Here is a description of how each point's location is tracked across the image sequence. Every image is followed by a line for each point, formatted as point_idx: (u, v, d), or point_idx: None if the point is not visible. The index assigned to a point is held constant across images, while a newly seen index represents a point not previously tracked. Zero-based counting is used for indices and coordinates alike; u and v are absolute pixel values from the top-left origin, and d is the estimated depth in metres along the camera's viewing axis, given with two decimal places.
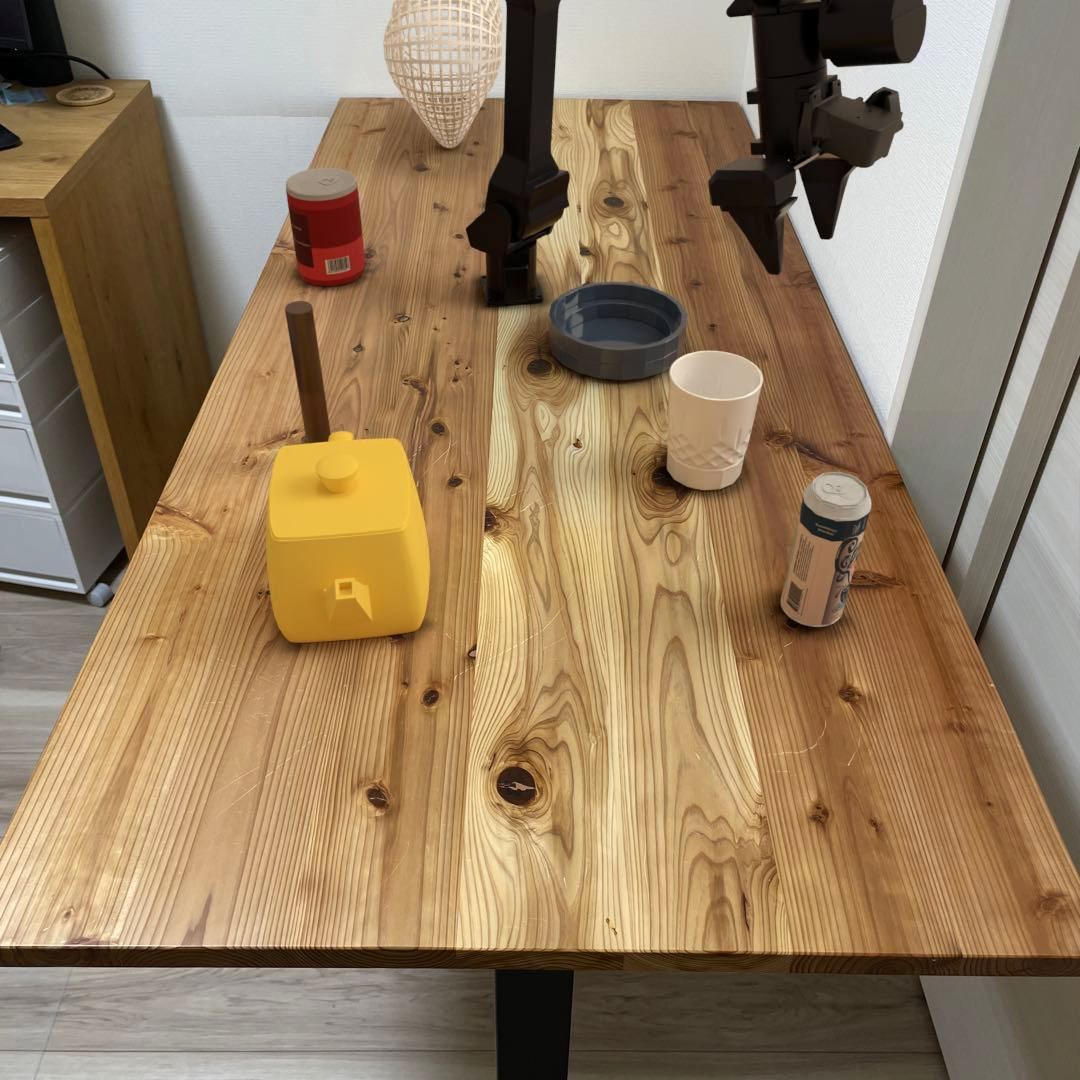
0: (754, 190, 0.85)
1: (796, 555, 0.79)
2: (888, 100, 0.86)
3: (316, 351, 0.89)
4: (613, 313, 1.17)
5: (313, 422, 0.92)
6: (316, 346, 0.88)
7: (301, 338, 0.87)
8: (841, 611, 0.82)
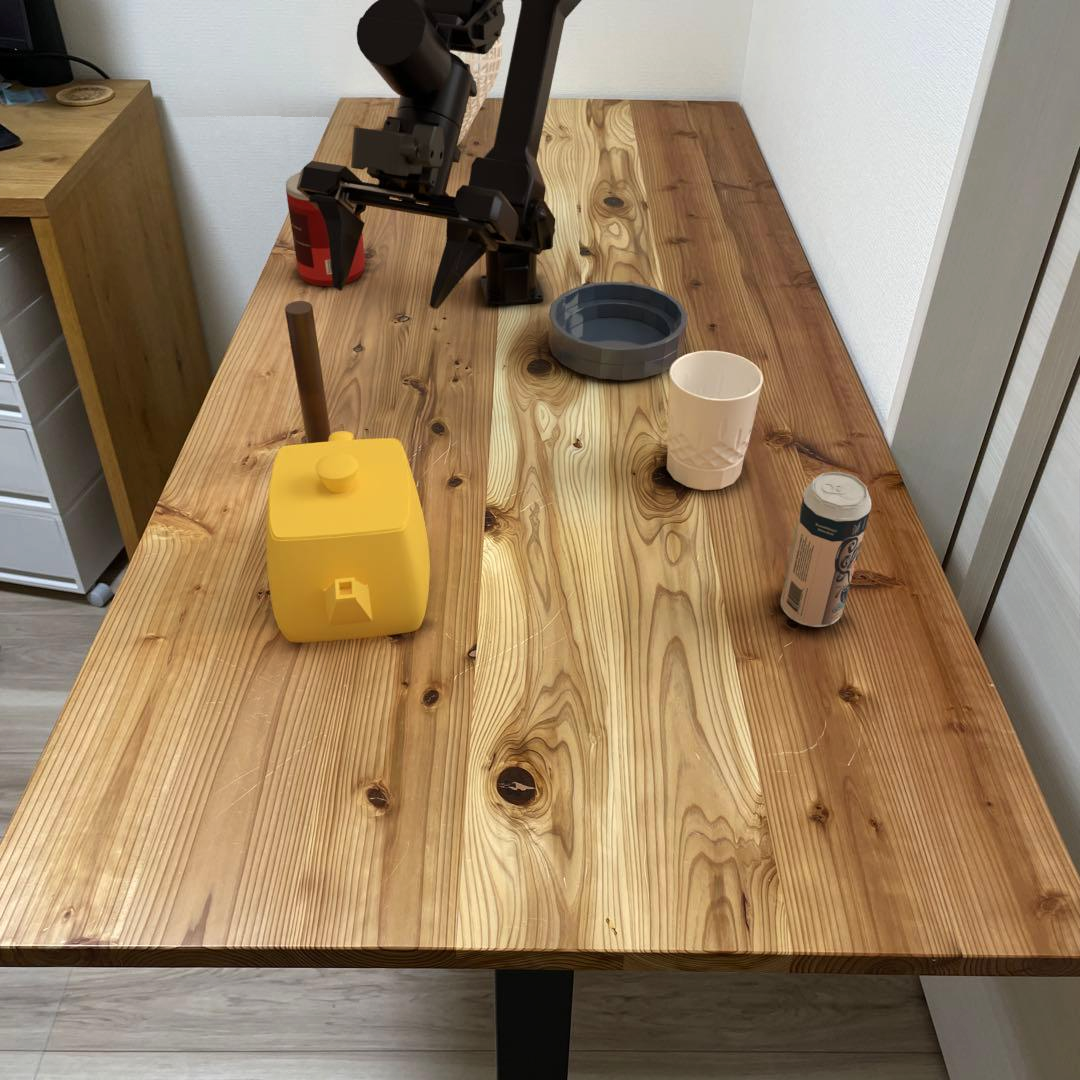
0: None
1: (796, 555, 0.79)
2: (415, 126, 0.85)
3: (316, 351, 0.89)
4: (613, 313, 1.17)
5: (313, 422, 0.92)
6: (316, 346, 0.88)
7: (301, 338, 0.87)
8: (841, 611, 0.82)
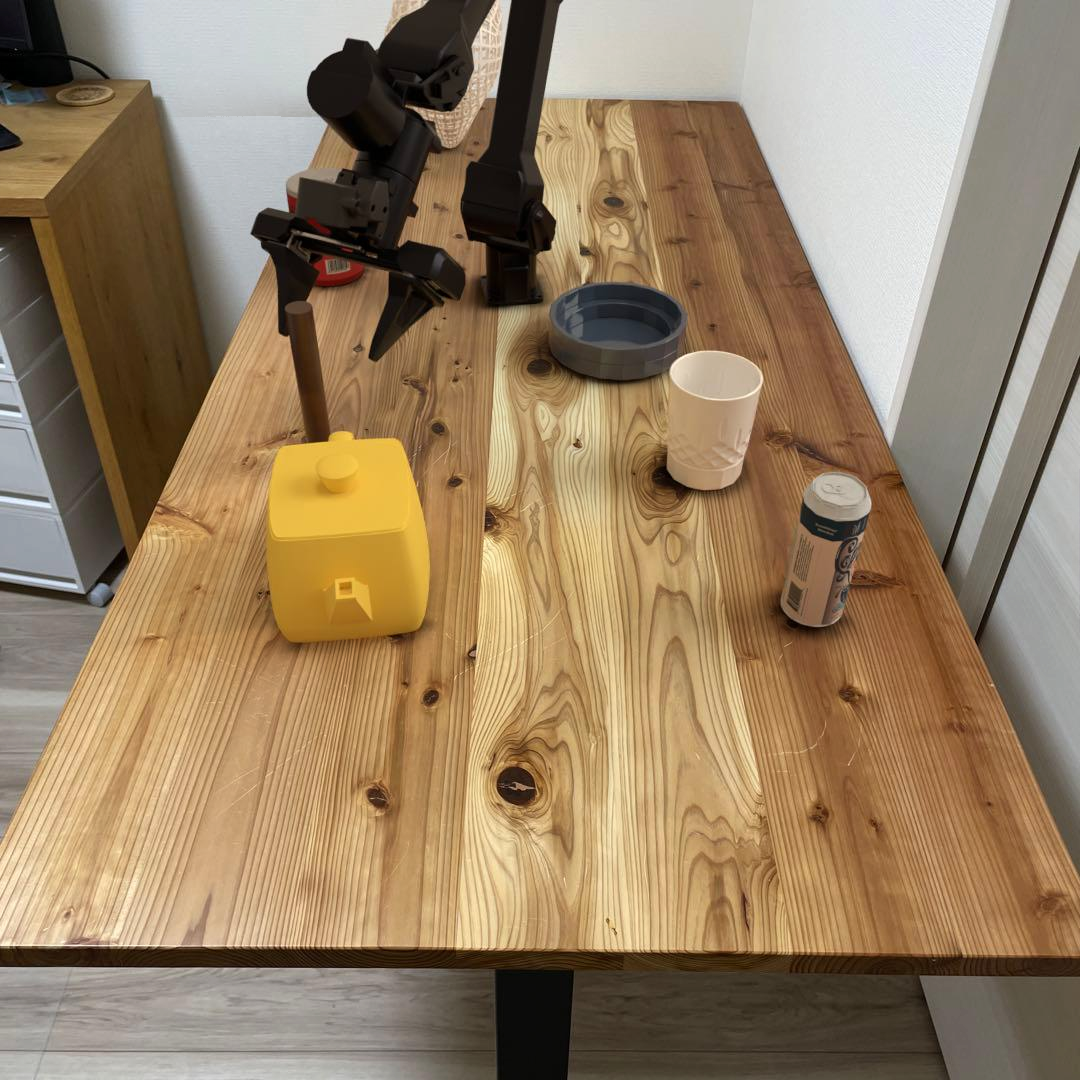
0: None
1: (796, 555, 0.79)
2: (359, 180, 0.85)
3: (316, 351, 0.89)
4: (613, 313, 1.17)
5: (313, 422, 0.92)
6: (316, 346, 0.88)
7: (301, 338, 0.87)
8: (841, 611, 0.82)
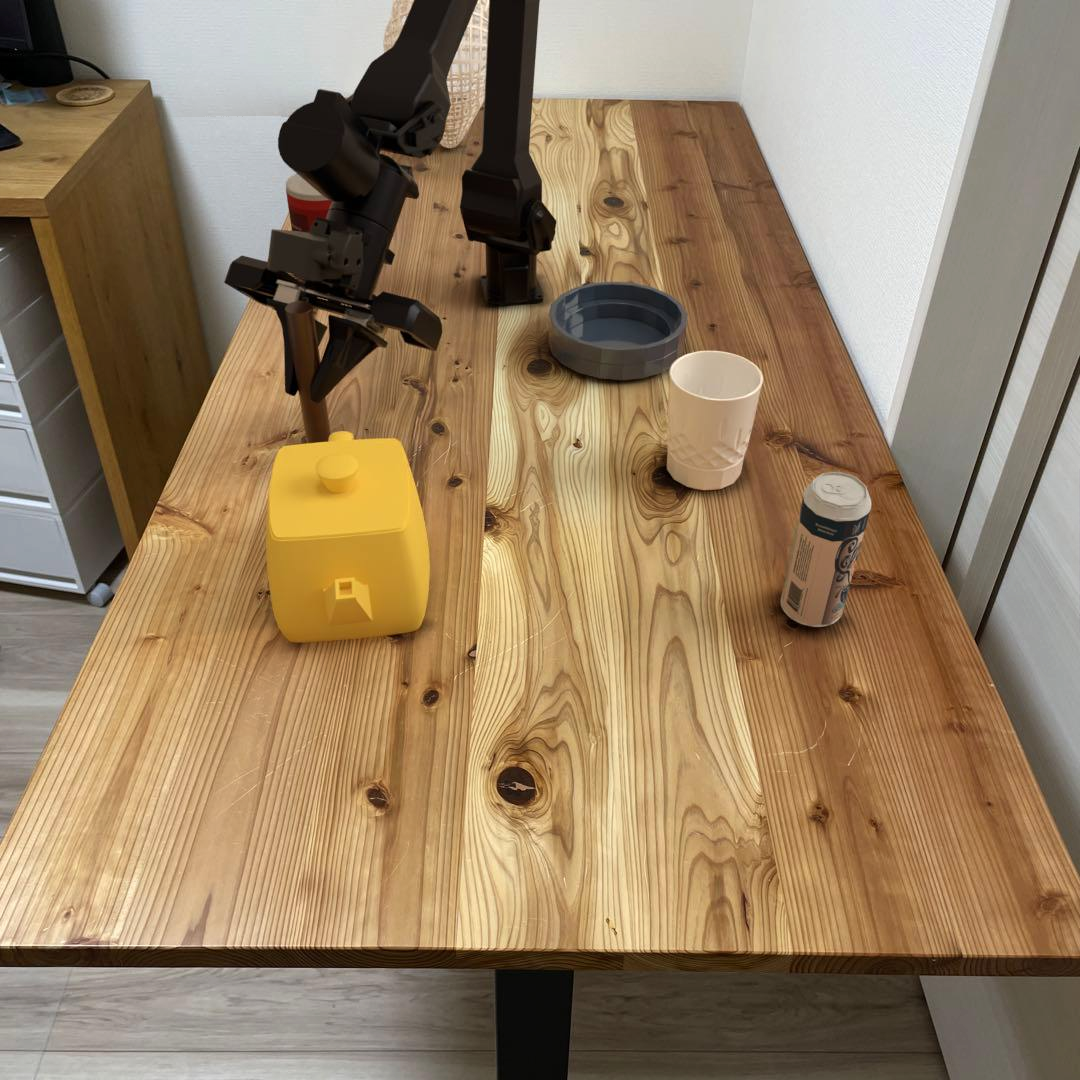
0: None
1: (796, 555, 0.79)
2: (332, 233, 0.83)
3: (316, 351, 0.89)
4: (613, 313, 1.17)
5: (313, 422, 0.92)
6: (316, 346, 0.88)
7: (301, 338, 0.87)
8: (841, 611, 0.82)
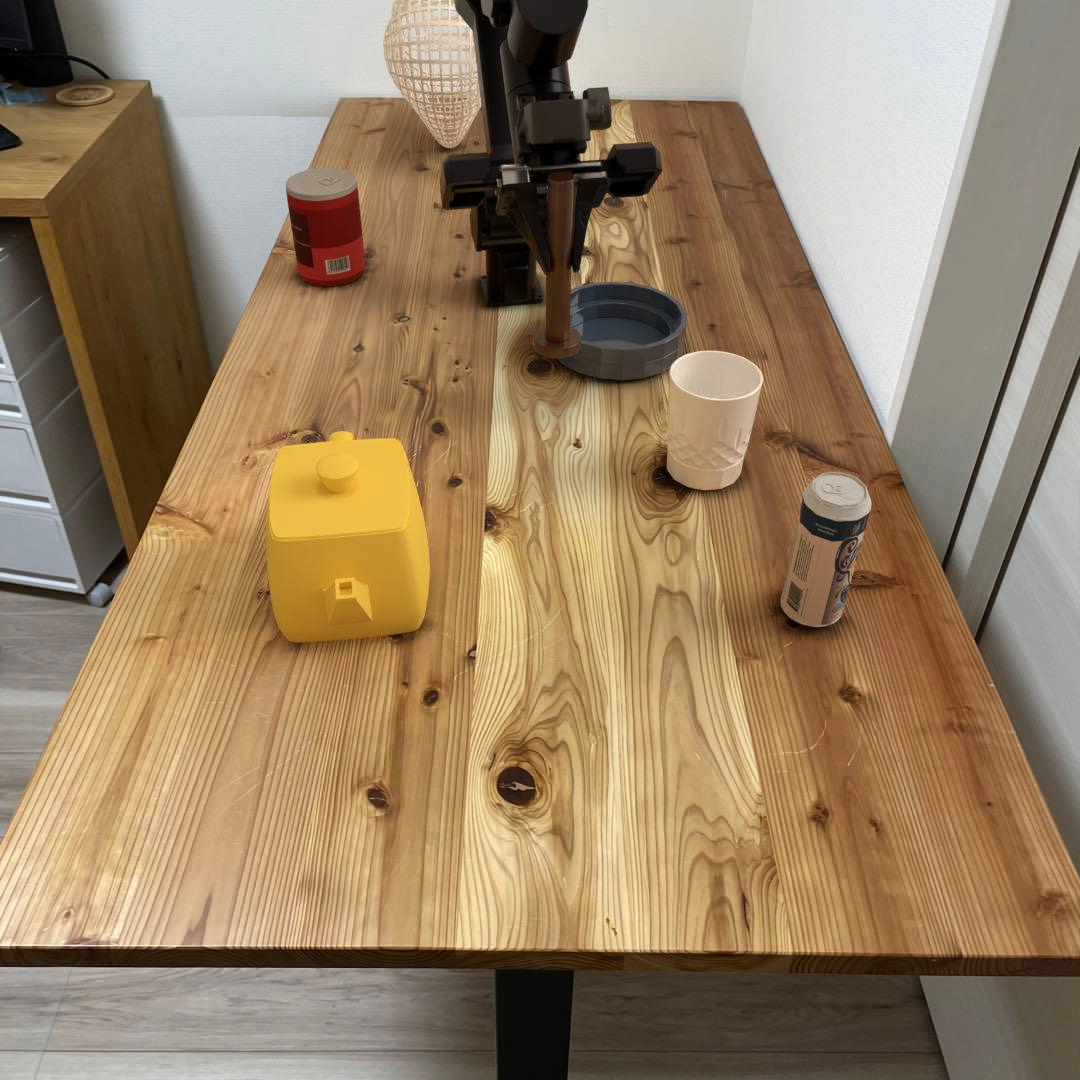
0: (443, 174, 0.90)
1: (796, 555, 0.79)
2: (587, 91, 0.86)
3: None
4: (613, 313, 1.17)
5: (566, 296, 0.94)
6: None
7: (569, 207, 0.89)
8: (841, 611, 0.82)
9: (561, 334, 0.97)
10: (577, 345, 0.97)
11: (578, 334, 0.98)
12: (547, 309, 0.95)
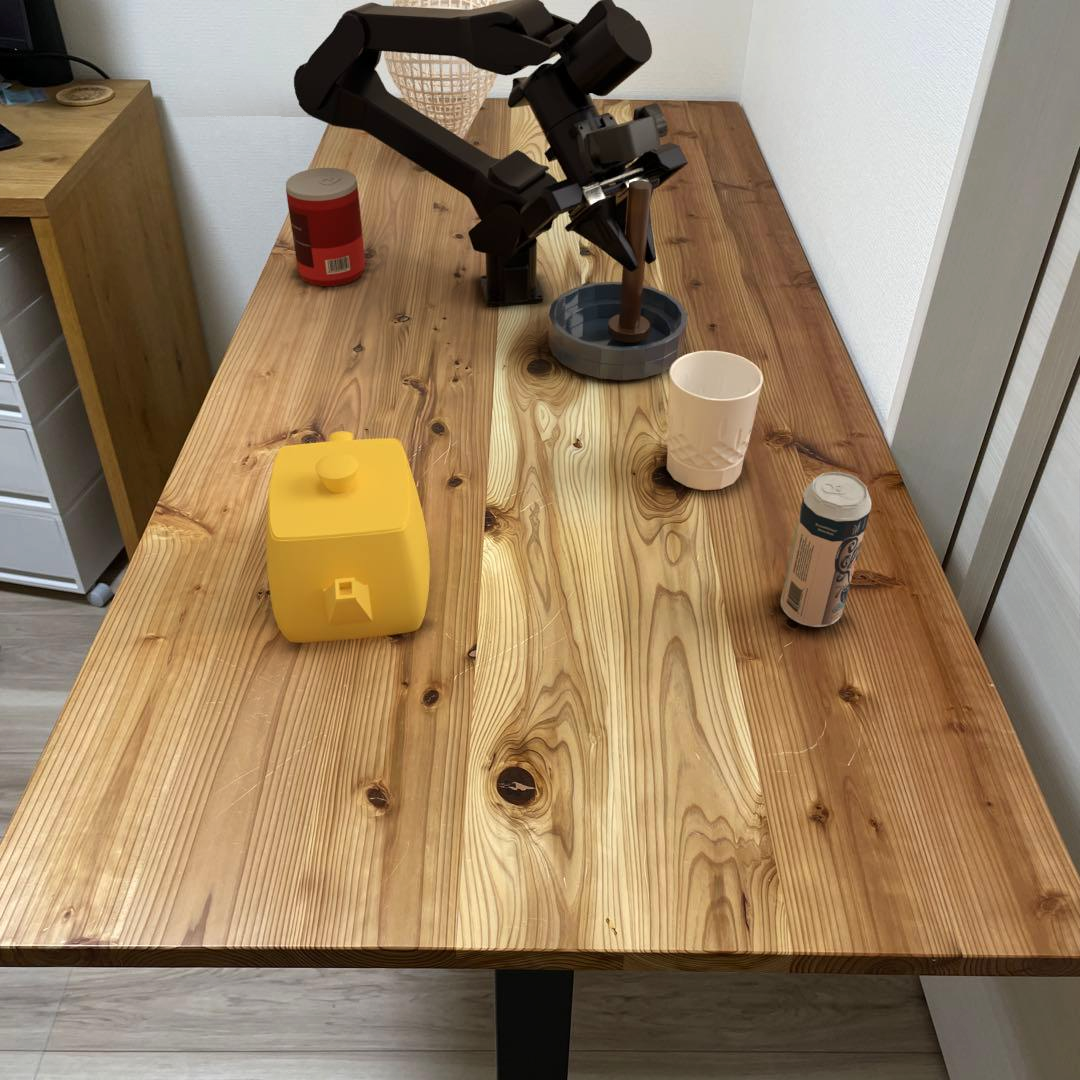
0: (542, 205, 1.00)
1: (796, 555, 0.79)
2: (645, 109, 1.01)
3: None
4: (613, 313, 1.17)
5: (642, 286, 1.09)
6: None
7: (649, 208, 1.04)
8: (841, 611, 0.82)
9: (638, 320, 1.11)
10: (649, 325, 1.12)
11: (642, 317, 1.13)
12: (626, 301, 1.09)
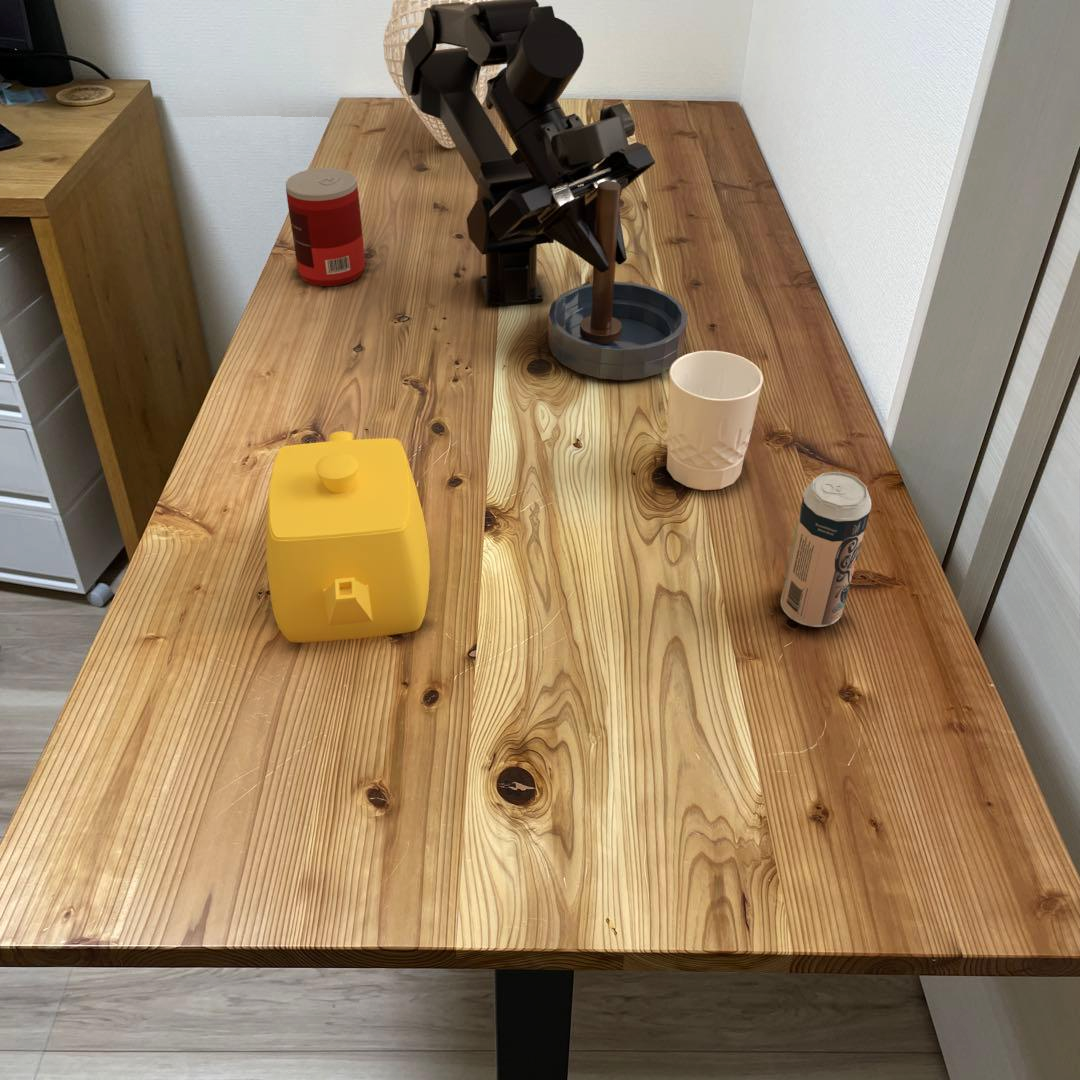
0: (511, 208, 0.99)
1: (796, 555, 0.79)
2: (611, 109, 1.01)
3: None
4: (613, 313, 1.17)
5: (613, 287, 1.09)
6: None
7: (618, 209, 1.03)
8: (841, 611, 0.82)
9: (609, 321, 1.11)
10: (621, 326, 1.12)
11: (613, 318, 1.13)
12: (598, 303, 1.09)
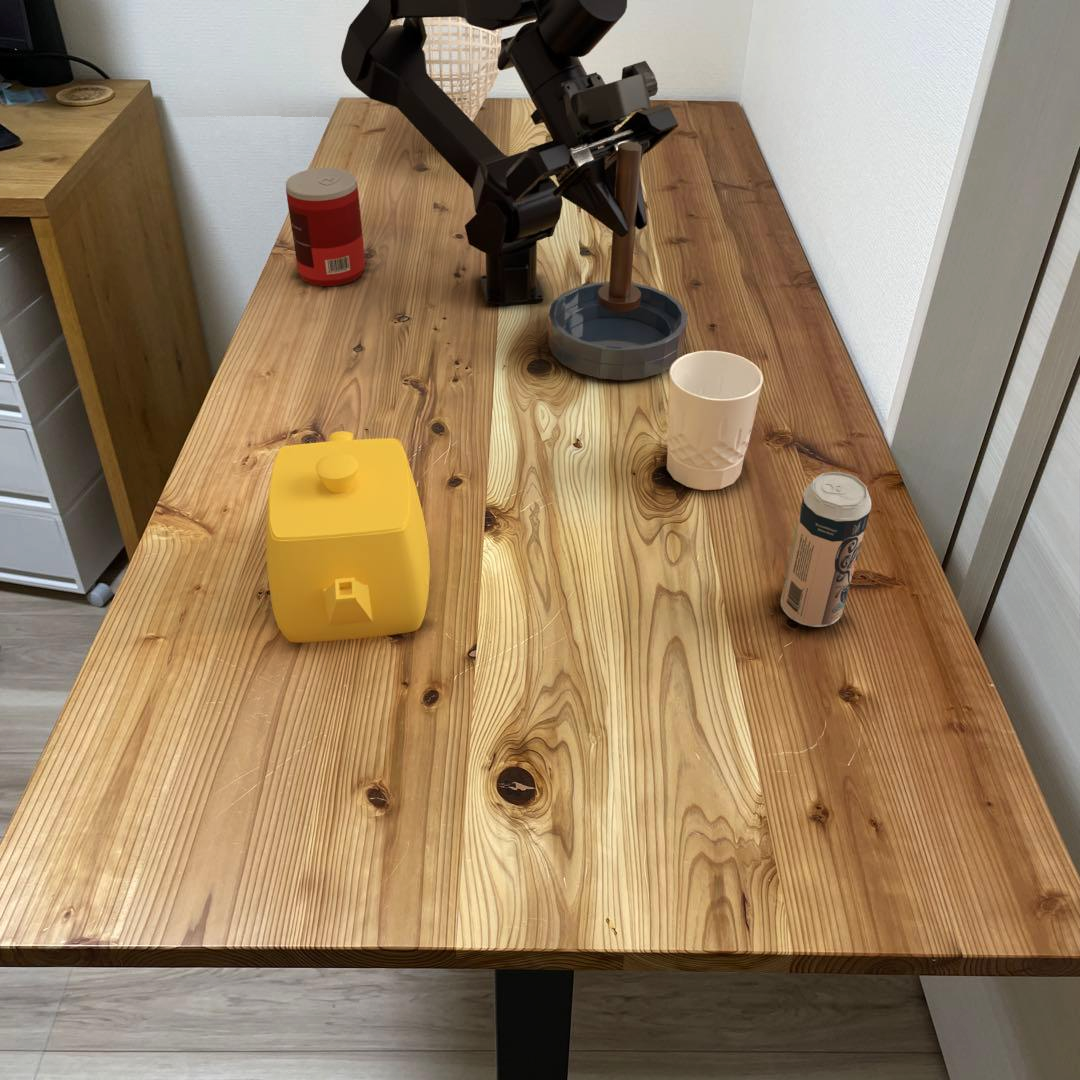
0: (528, 167, 0.97)
1: (796, 555, 0.79)
2: (633, 67, 0.98)
3: None
4: (613, 313, 1.17)
5: None
6: None
7: (639, 171, 1.00)
8: (841, 611, 0.82)
9: (628, 288, 1.08)
10: (640, 295, 1.09)
11: (633, 286, 1.10)
12: (617, 269, 1.06)
